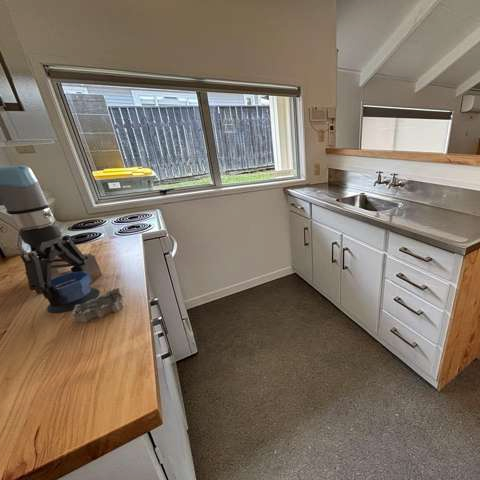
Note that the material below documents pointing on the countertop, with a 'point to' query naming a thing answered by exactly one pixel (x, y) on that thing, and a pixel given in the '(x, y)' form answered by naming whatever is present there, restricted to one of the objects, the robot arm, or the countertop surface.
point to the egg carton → (99, 306)
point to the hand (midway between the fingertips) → (72, 294)
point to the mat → (74, 302)
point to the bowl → (72, 285)
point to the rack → (89, 267)
